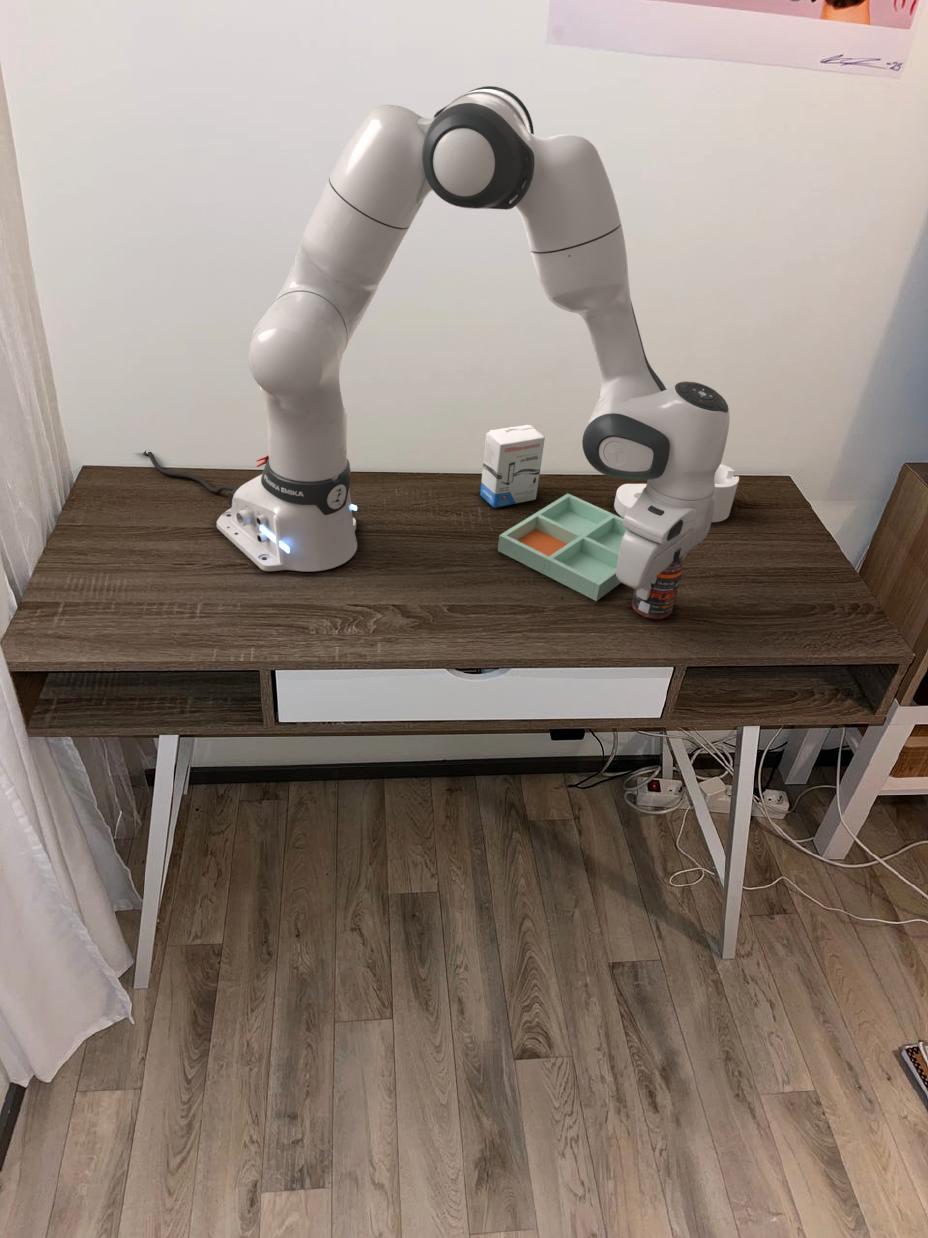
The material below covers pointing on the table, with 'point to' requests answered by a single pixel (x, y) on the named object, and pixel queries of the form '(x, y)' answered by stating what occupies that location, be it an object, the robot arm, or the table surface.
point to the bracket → (721, 495)
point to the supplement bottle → (661, 592)
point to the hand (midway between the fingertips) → (656, 585)
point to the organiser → (569, 545)
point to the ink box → (511, 465)
